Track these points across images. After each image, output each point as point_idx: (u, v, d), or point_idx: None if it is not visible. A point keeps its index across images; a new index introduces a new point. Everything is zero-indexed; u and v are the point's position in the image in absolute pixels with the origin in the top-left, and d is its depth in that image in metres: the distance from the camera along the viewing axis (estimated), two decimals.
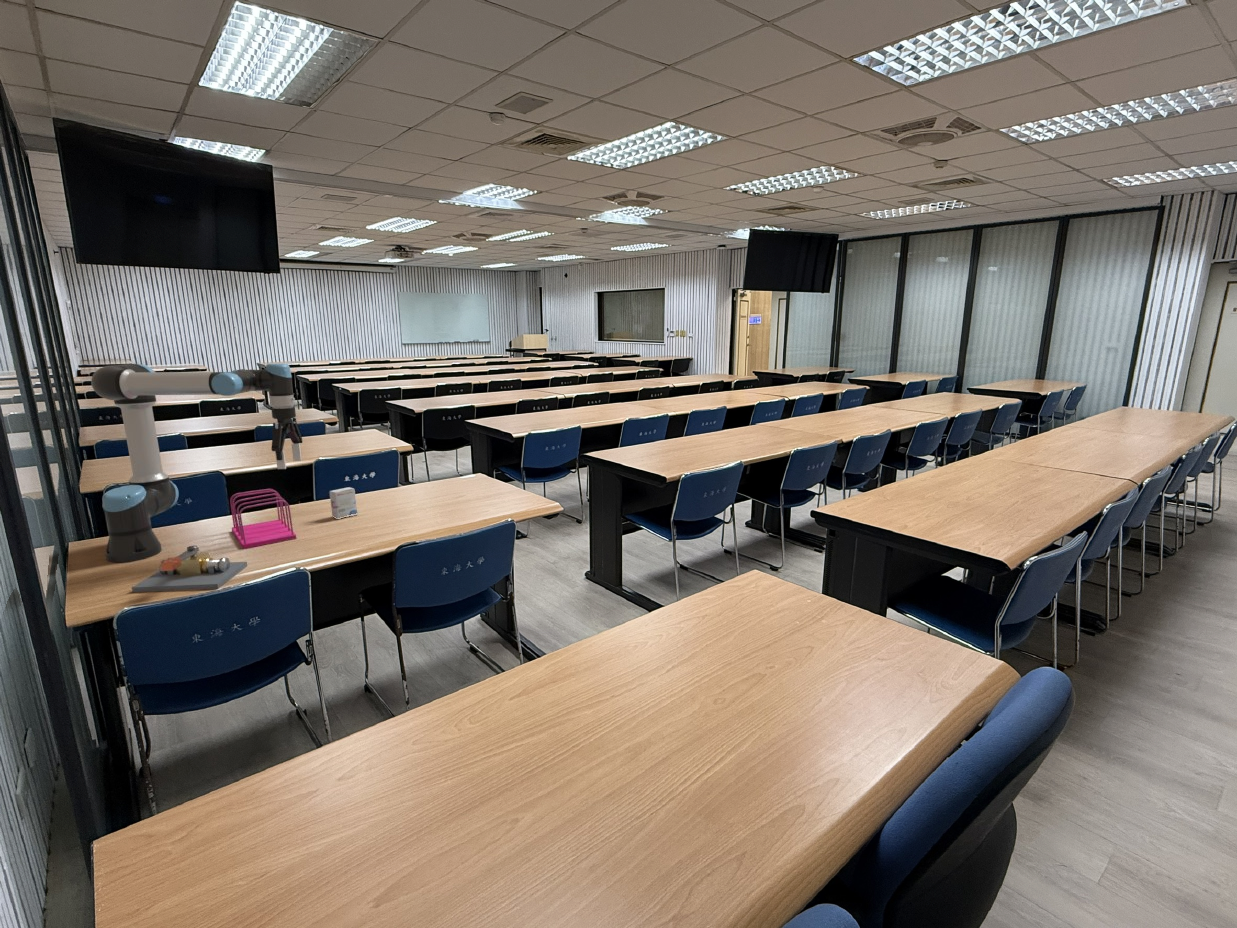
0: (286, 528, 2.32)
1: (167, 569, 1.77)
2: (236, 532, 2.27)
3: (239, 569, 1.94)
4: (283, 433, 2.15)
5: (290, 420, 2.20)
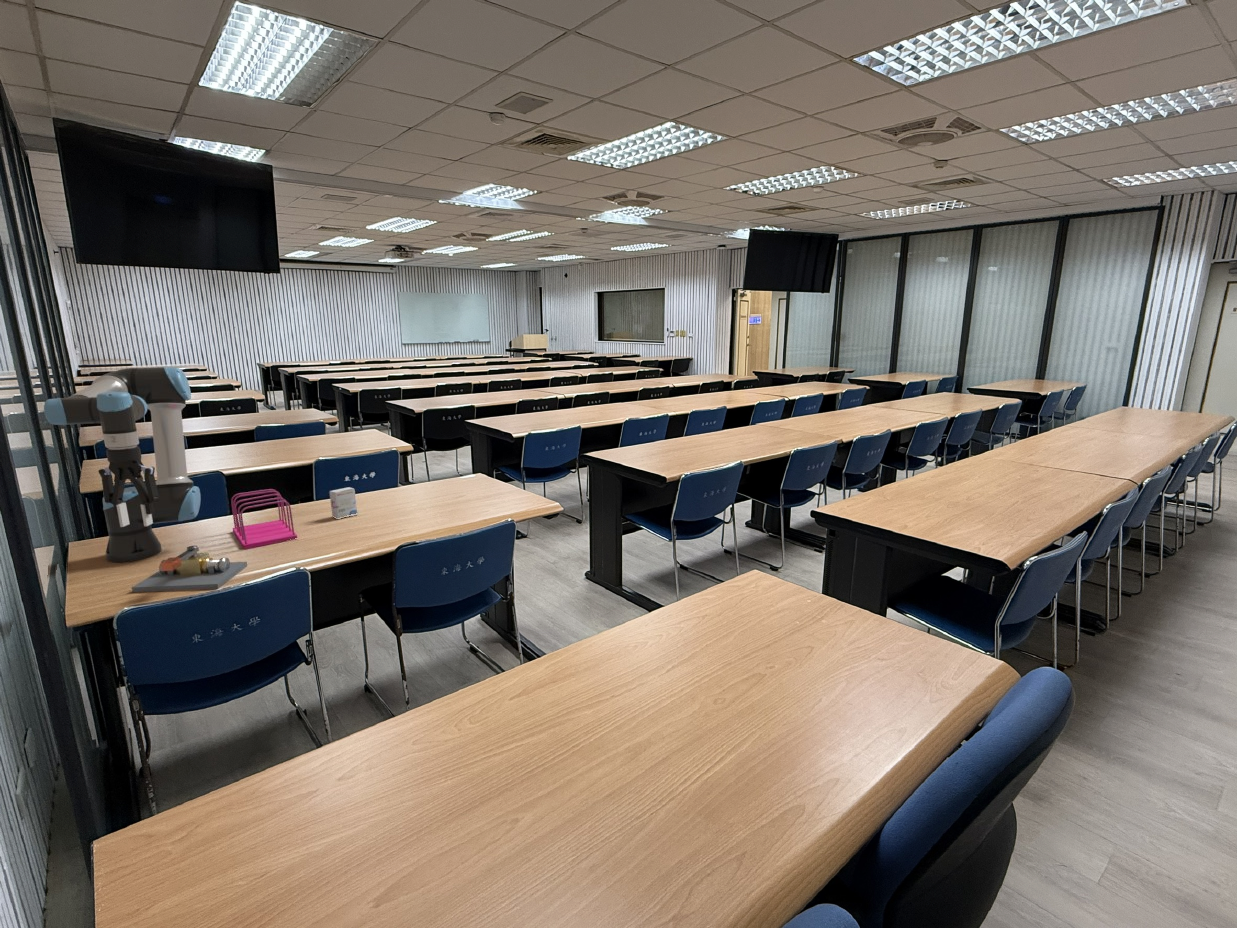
0: (287, 528, 2.32)
1: (167, 569, 1.77)
2: (237, 532, 2.27)
3: (239, 569, 1.94)
4: None
5: (132, 464, 1.71)
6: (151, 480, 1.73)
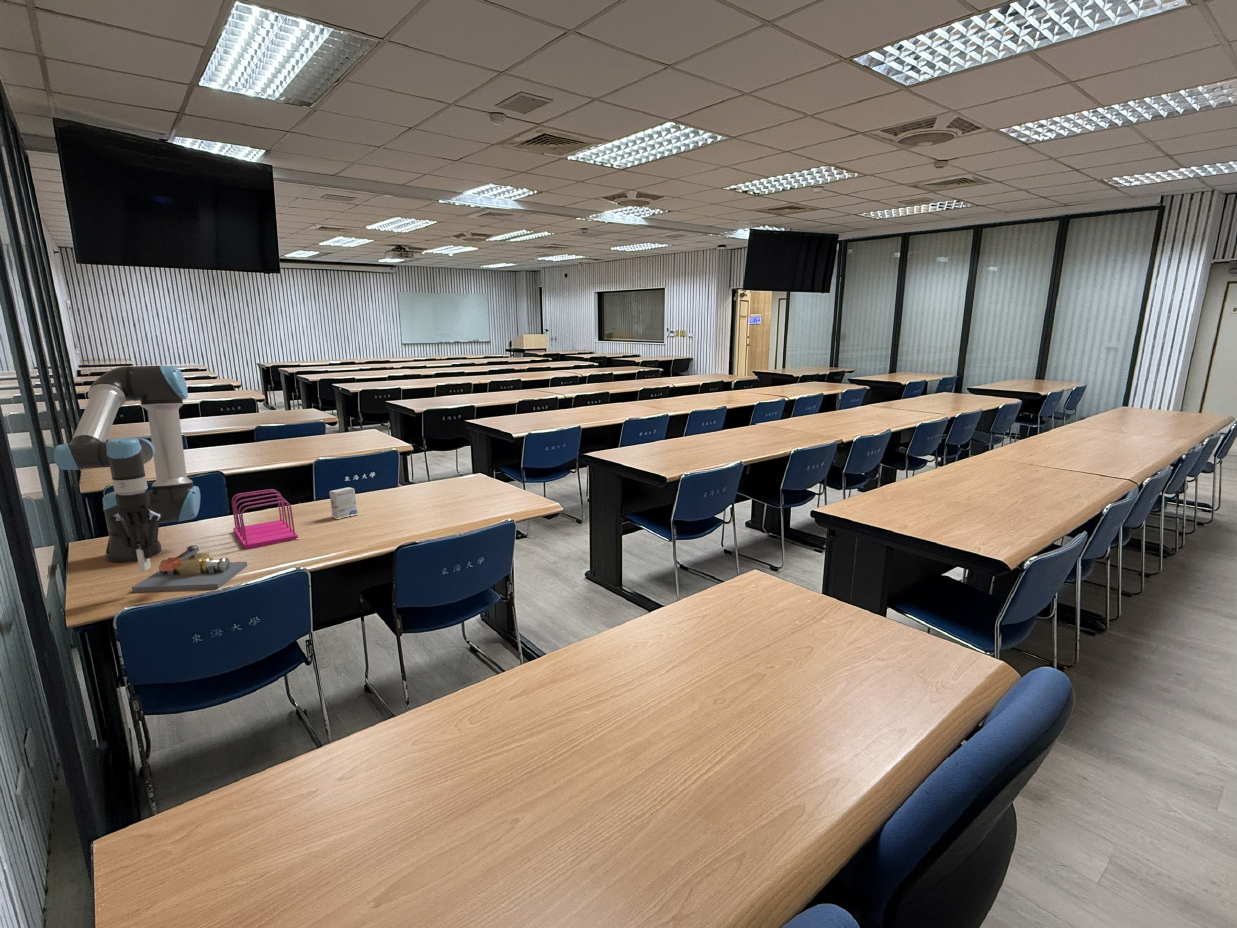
0: (288, 529, 2.32)
1: (167, 569, 1.77)
2: (238, 533, 2.27)
3: (239, 569, 1.94)
4: None
5: (142, 508, 1.74)
6: (155, 526, 1.76)
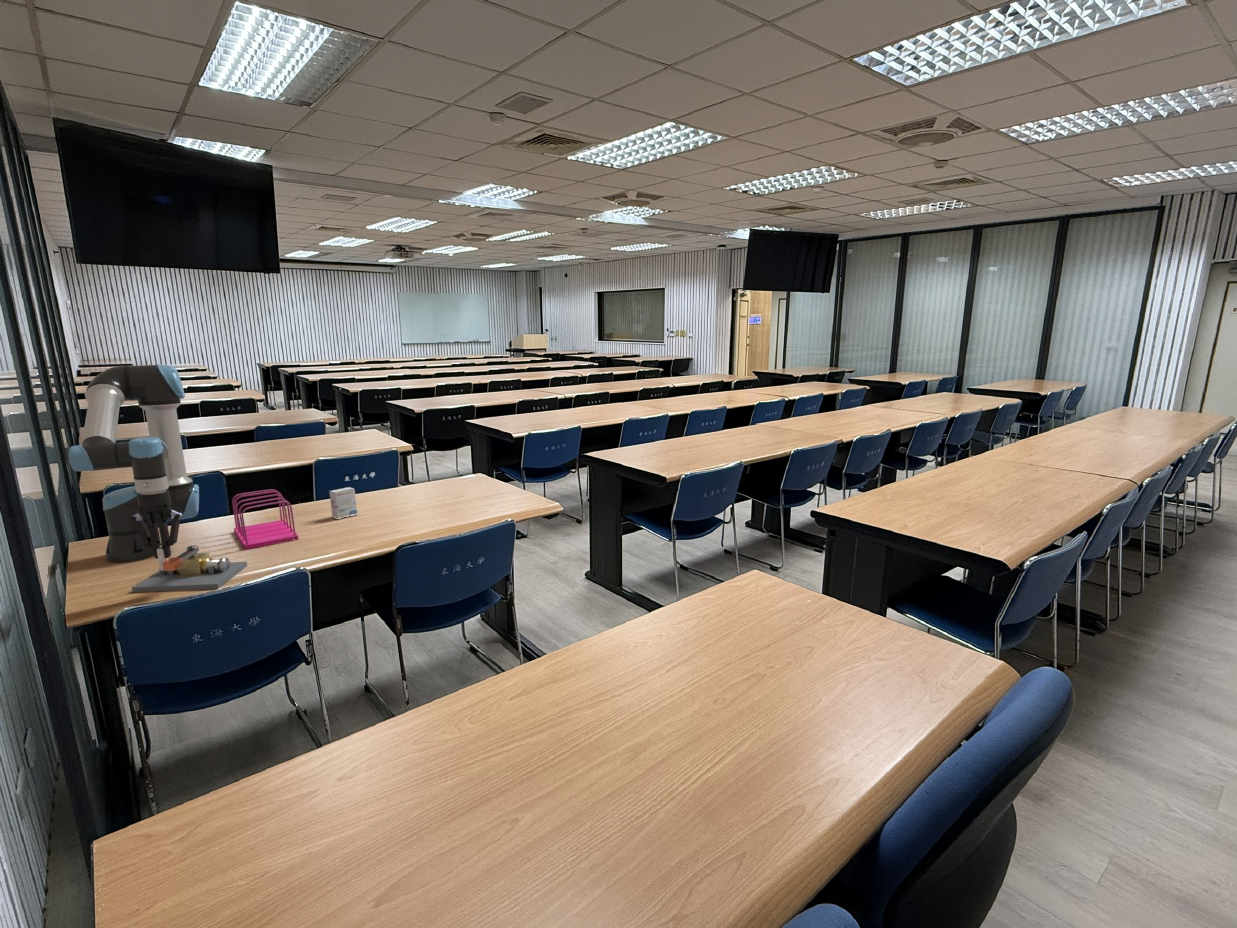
0: (288, 529, 2.32)
1: (169, 569, 1.77)
2: (238, 533, 2.27)
3: (239, 569, 1.94)
4: None
5: (164, 507, 1.74)
6: (176, 525, 1.77)
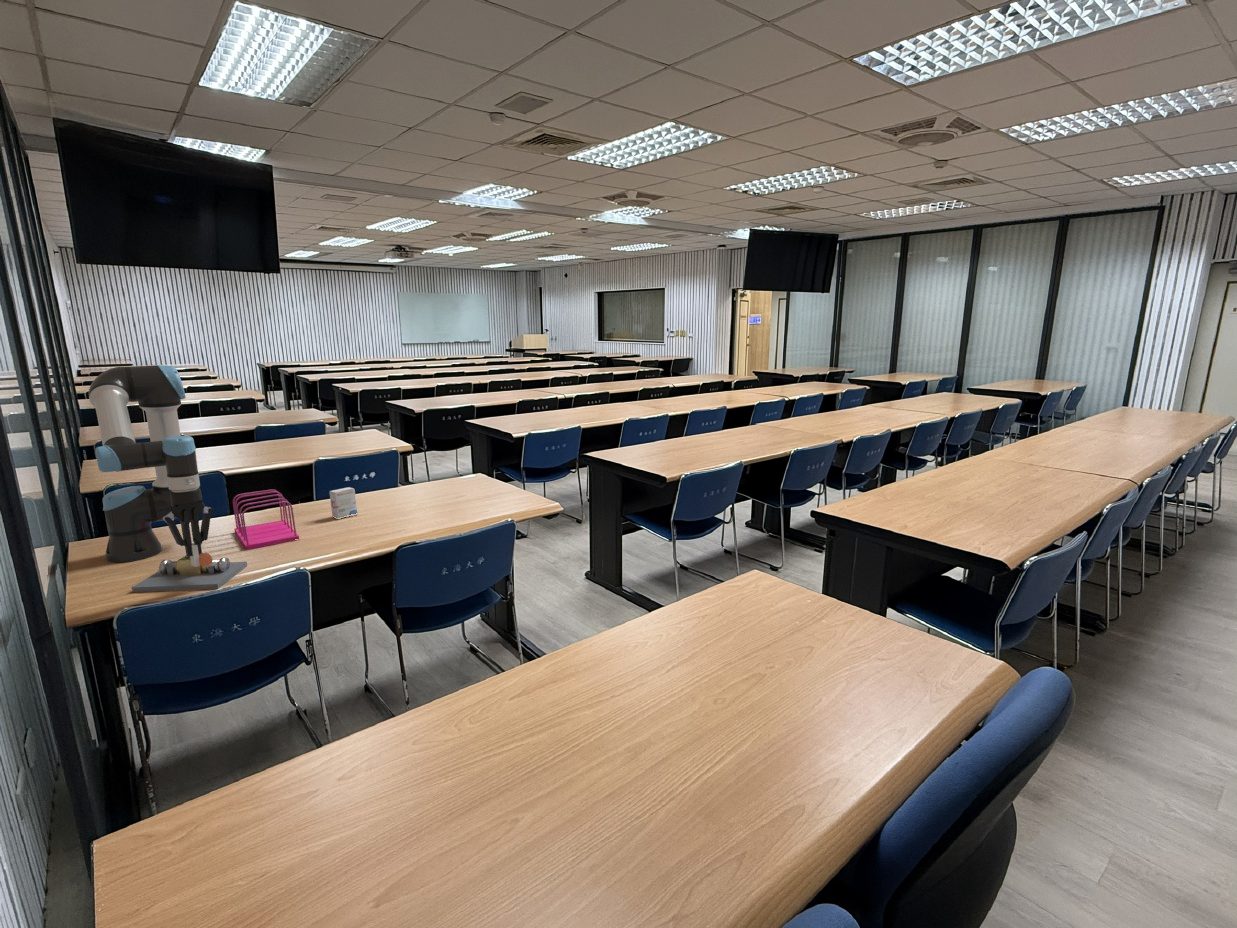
0: (289, 529, 2.31)
1: (207, 563, 1.82)
2: (239, 533, 2.26)
3: (239, 569, 1.94)
4: (183, 524, 1.76)
5: (199, 503, 1.79)
6: None
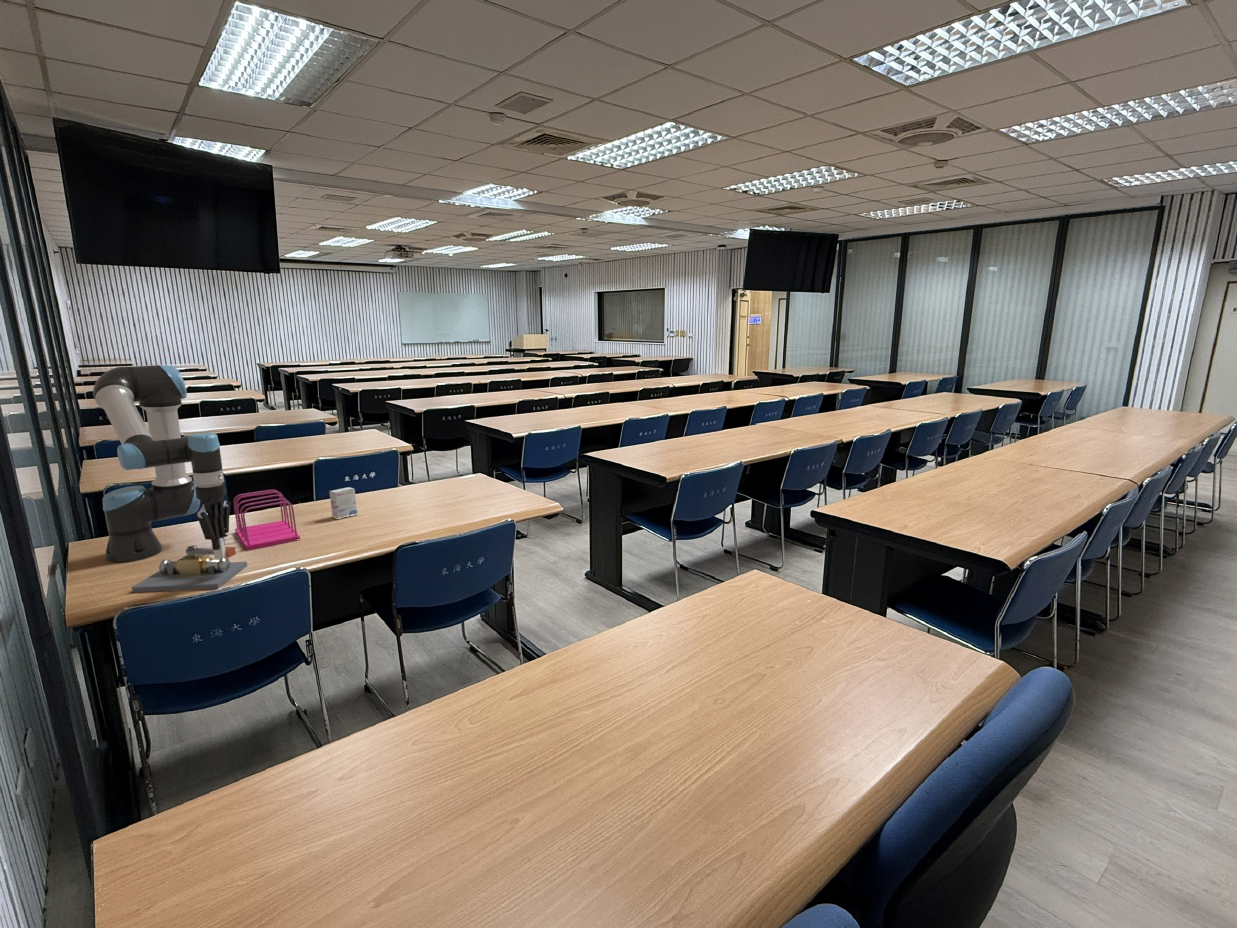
0: (290, 529, 2.31)
1: (232, 554, 1.89)
2: (239, 533, 2.26)
3: (239, 569, 1.94)
4: (213, 518, 1.82)
5: (221, 497, 1.85)
6: None
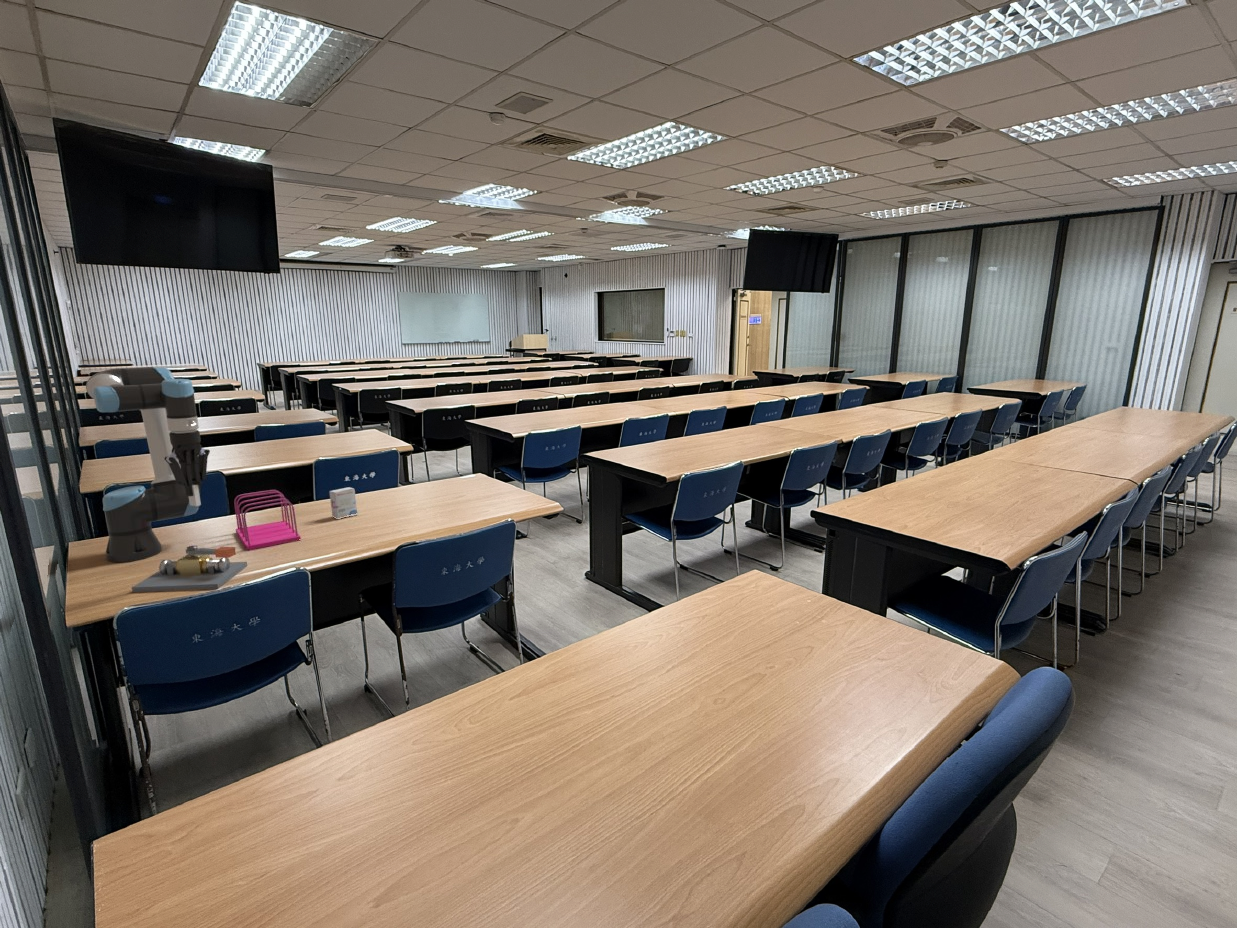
0: (290, 529, 2.31)
1: (232, 554, 1.89)
2: (240, 533, 2.26)
3: (239, 569, 1.94)
4: (185, 465, 1.83)
5: (197, 444, 1.86)
6: None
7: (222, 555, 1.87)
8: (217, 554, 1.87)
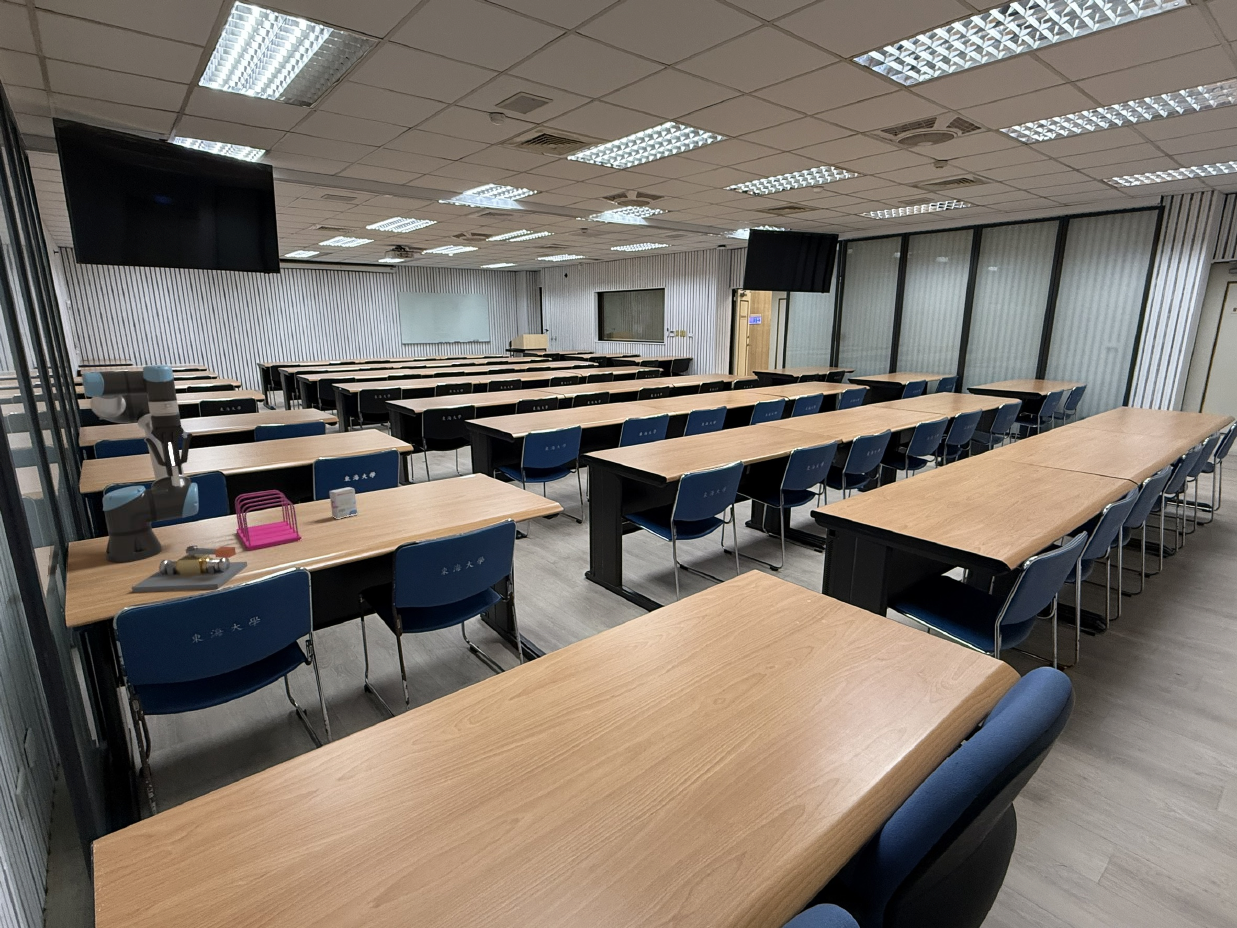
0: (291, 530, 2.31)
1: (232, 554, 1.89)
2: (241, 534, 2.26)
3: (239, 569, 1.94)
4: (163, 446, 1.93)
5: (178, 428, 1.96)
6: None
7: (222, 555, 1.87)
8: (217, 554, 1.87)
